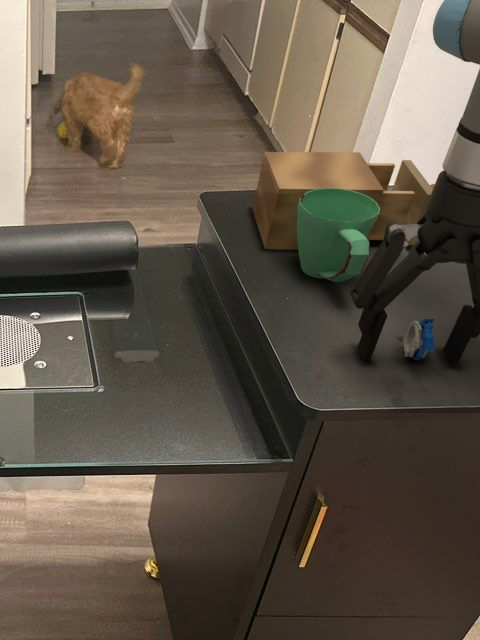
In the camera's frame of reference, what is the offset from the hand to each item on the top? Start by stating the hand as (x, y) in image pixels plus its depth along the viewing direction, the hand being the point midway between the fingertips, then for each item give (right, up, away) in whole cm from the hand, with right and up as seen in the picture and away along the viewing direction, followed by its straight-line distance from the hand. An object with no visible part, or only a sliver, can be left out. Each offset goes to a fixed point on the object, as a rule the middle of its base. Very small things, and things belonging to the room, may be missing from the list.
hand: (406, 355), depth 86 cm
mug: (-3, +11, +14) cm, 18 cm away
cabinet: (-1, +20, +24) cm, 32 cm away
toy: (0, 0, 0) cm, 0 cm away
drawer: (+9, +20, +22) cm, 31 cm away
